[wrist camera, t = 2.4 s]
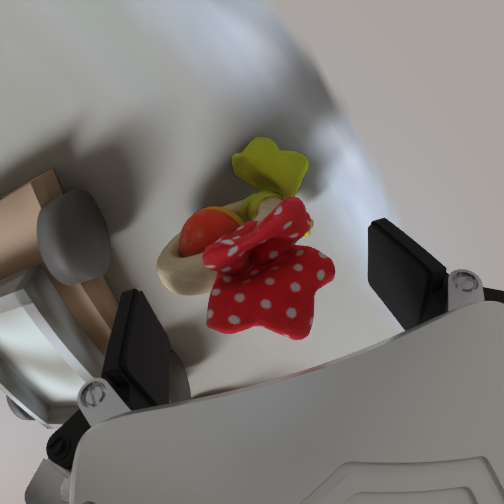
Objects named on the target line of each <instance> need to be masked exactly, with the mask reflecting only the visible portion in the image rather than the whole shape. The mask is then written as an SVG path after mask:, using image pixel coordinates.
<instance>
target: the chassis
mask: <svg viewBox="0 0 504 504" xmlns="http://www.w3.org/2000/svg"><path fill="white" fill-rule="evenodd" d="M110 258H111V250H110V241H109V236H108V231H107V228H106V224H105V221H104V219H103V216H102V214H101V212H100V209H99V208H98V206H97V204H96V202H95V201H94V200H93V198H92V197H91V196H90V195H89V194H88V193H87V192H86V191H84V190H82V189H75V190H72V191H70V192H68V193H66V194H63V192H62V190H61V187H60V185H59V182H58V180H57V177H56V174H55V172H54V169H53V168H52V169H50V170H48V171H47V172H45V173H43V174H41V175H39V176H37V177H36V178H34V179H32V180H30V181H29V182H27V183H25V184H23V185H22V186H20V187H18V188H17V189H15V190H13V191H12V192H10V193H9V194H7V195H5V196H4V197H2V198H1V199H0V389H1V390H2V391H3V392H4V393H5V394H6V397H7V402H8V404H9V407H10V409H11V410H12V412H13V413H14V414H15V415H16V416H17V417H19V418H20V419H23V420H37V421H38V422H39V423H41V424H42V425H43V426H45V427H46V428H47V429H48V428H49V429H59V428H60V427H61V426H62V425H63V424H64V423H65V422H66V421H67V420H68V419H69V418H70V417H71V416H72V415H73V414H74V413H75V412H76V411H77V410H78V409H80V408H79V406H78V403H77V396H78V392H79V390H80V389H81V387H82V386H83V385H84V384H85V383H86V382H87V381H89V380H91V379H94V378H101V374H102V369H103V364H104V360H105V355H106V351H107V347H108V343H109V338H110V334H111V331H112V327H113V324H114V320H115V316H116V312H117V309H118V305H119V302H118V301H117V299H116V297H115V296H114V294H113V292H112V290H111V289H110V287H109V285H108V284H107V282H106V280H105V278H104V276H103V275H105V274H106V272H107V271H108V269H109V265H110ZM186 400H191V393H190V386H189V382H188V378H187V375H186V372H185V369H184V367H183V364H182V362H181V360H180V359H179V357H178V356H177V355H176V354H175V353H174V352H170V360H169V404H170V403H176V402H181V401H186Z"/></svg>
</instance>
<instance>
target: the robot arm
mask: <svg viewBox="0 0 504 504" xmlns="http://www.w3.org/2000/svg"><path fill="white" fill-rule="evenodd" d="M368 282H369V284H370V286H371V287H372V289H373V290H374V291H375V292H376V294H377V295H378V296H379V297H380V299H381V300H382V301H383V302H384V304H385V305H386V306H387V308H388V309H389V310H390V311H391V313H392V314H393V315H394V317H395V318H396V319H397V320H398V322H399V323H400V324H401V326H402V327H403V328H404V330H405V331H404V332H402V333H400V334H398V335H395V336H393V337H391V338H389V339H386V340H384V341H382V342H379V343H377V344H374V345H372V346H369V347H367V348H364V349H362V350H359V351H357V352H354V353H352V354H349V355H346V356H344V357H341V358H338V359H335V360H333V361H330V362H327V363H324V364H321V365H318V366H315V367H312V368H309V369H306V370H303V371H300V372H297V373H294V374H291V375H287V376H284V377H281V378H277V379H274V380H270V381H267V382H263V383H259V384H256V385H252V386H248V387H244V388H240V389H236V390H232V391H228V392H224V393H219V394H215V395H210V396H205V397H201V398H196V399H191V400H186V401H181V402H176V403H170V404H169V360H170V342H169V338H168V336H167V334H166V333H165V331H164V329H163V328H162V326H161V324H160V322H159V321H158V319H157V317H156V315H155V314H154V312H153V310H152V308H151V306H150V305H149V303H148V301H147V299H146V297H145V295H144V294H143V292H142V291H138V290H137V289H132V290H129V291H125V292H123V293H122V295H121V298H120V302H119V305H118V309H117V312H116V316H115V320H114V324H113V327H112V331H111V334H110V338H109V343H108V347H107V351H106V355H105V360H104V364H103V369H102V374H101V378H94V379H91V380H89V381H87V382H86V383H85V384H84V385H83V386H82V387H81V389H80V390H79V392H78V396H77V403H78V406H79V408H80V409H78V410H77V411H76V412H75V413H74V414H73V415H72V416H71V417H70V418H69V419H68V420H67V421H66V422H65V423H64V424H63V425H62V426H61V427H60V428H59V429H58V430H57V431H56V432H55V433H54V434H52V436H51V437H50V438H49V440H48V443H47V447H46V450H47V455H48V459H47V460H46V459H43V460H42V462H41V464H40V466H39V468H38V469H37V471H36V473H35V474H34V476H33V478H32V480H31V482H30V483H29V485H28V487H27V489H26V492H25V502H26V504H504V291H501V290H495V289H490V288H484V287H483V285H482V282H481V279H480V278H479V277H478V276H477V275H476V274H475V273H473V272H471V271H469V270H463V269H461V270H460V269H459V270H455V271H453V272H451V274H450V275H449V274H448V273H447V272H446V267H445V266H443V265H442V264H441V263H440V262H439V261H438V260H437V259H435V258H434V257H433V256H432V255H431V254H430V253H428V252H427V251H426V250H425V249H424V248H422V247H421V246H420V245H419V244H418V243H416V242H415V241H414V240H413V239H411V238H410V237H409V236H408V235H406V234H405V233H404V232H403V231H401V230H400V229H399V228H398V227H396V226H395V225H394V224H392V223H391V222H390V221H388V220H387V219H386V218H382V219H379V220H375V221H372V222H371V225H370V226H369V227H368Z"/></svg>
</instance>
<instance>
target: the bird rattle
mask: <svg viewBox="0 0 504 504" xmlns="http://www.w3.org/2000/svg"><path fill="white" fill-rule="evenodd" d="M232 166H233V170H234V172H235V175H236V176H238V177H240V178H241V179H243V180H244V181H246V182H247V183H249V184H250V185H253V186H254V187H256V188H257V189H258V190H260V192H258V193H254V194H252V195H250V196H249V197H247V198H246V199H243V200H239V201H236V202H234V203H231V204H228V205H225V206H223V207H218V206H212V207H206V208H203V209H201V210H199V211H197V212H196V213H194V214H193V215H192V216H191V217H190V218H189V219H188V220H187V221H186V223H185V224H184V226H183V228H182V230H181V232H180V233H179V234H177V235H176V236H175V237H174V238H173V239H172V240H171V241H170V242H169V243H168V244H167V246H166V247H165V248H164V249H163V251H162V252H161V254H160V256H159V258H158V260H157V265H156V270H157V274H158V276H159V278H160V280H161V281H162V283H163V284H164V285H165V286H166V287H167V288H168V289H169V290H170V291H172V292H174V293H177V294H180V295H200V294H205V293H208V292H211V293H210V298H209V303H208V310H207V326H208V327H209V328H212V329H214V330H216V331H219V332H221V333H225V334H232V333H236V332H240V331H243V330H246V329H249V328H251V327H253V326H260V327H265V328H267V329H269V330H271V331H273V332H276V333H278V334H280V335H283V336H286V337H288V338H291V339H293V340H301V339H303V338H305V337H307V336H308V335H309V332H310V330H311V327H312V323H313V317H314V295H315V292H316V291H317V290H318V289H319V288H321V287H322V286H324V285H325V284H327V283H329V282H330V281H332V280H333V279H334V275H335V267H334V264H333V262H332V260H331V259H330V258H329V257H327V256H326V255H324V254H323V253H321V252H320V251H318V250H316V249H314V248H312V247H309V246H300V245H294V244H295V243H296V242H297V241H298V240H299V239H300V238H302V237H303V236H304V237H307V236H310V229H311V228H312V227H313V224H314V221H313V220H312V219H311V218H310V216H309V214H308V213H307V212H306V208H305V206H304V204H303V202H302V201H301V200H300V199H299V198H297V197H295V195H296V193H297V191H298V189H299V187H300V184H301V182H302V179H303V177H304V175H305V174H306V172H307V170H308V169H309V161H308V159H307V158H306V156H305V155H303V154H301V153H298V152H296V151H282V150H280V149H279V148H278V146H277V145H276V143H275V142H274V141H273V140H272V139H270V138H268V137H256V138H255V139H253V140H252V141H251V142H250V143H249V144H248V146H247V147H246V148H245V149H244V150H243V151H242V153H235V154H234V155H233V157H232Z"/></svg>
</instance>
